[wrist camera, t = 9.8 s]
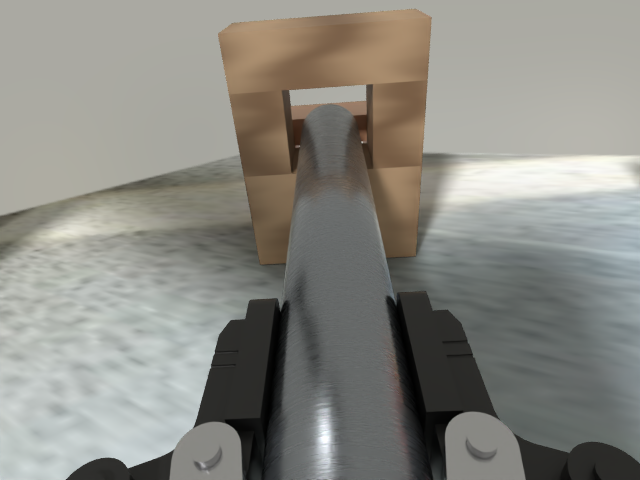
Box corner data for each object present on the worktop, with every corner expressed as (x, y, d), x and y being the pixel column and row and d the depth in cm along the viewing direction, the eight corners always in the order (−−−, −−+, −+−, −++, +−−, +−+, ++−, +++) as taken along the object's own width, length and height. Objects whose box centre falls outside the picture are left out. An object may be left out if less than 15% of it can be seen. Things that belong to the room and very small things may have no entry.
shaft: (455, 648, 7) (482, 566, 5) (257, 652, 7) (217, 573, 6) (360, 159, 25) (359, 100, 23) (302, 162, 25) (296, 104, 23)
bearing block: (260, 264, 28) (218, 33, 20) (266, 231, 31) (232, 22, 24) (415, 256, 27) (431, 17, 20) (405, 223, 31) (415, 8, 23)
